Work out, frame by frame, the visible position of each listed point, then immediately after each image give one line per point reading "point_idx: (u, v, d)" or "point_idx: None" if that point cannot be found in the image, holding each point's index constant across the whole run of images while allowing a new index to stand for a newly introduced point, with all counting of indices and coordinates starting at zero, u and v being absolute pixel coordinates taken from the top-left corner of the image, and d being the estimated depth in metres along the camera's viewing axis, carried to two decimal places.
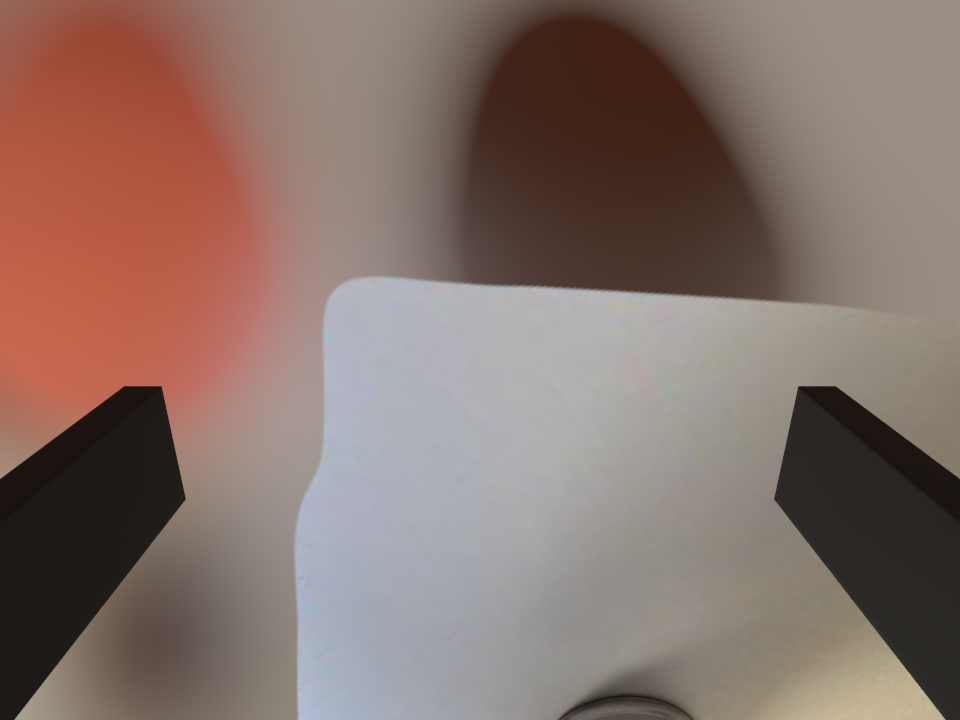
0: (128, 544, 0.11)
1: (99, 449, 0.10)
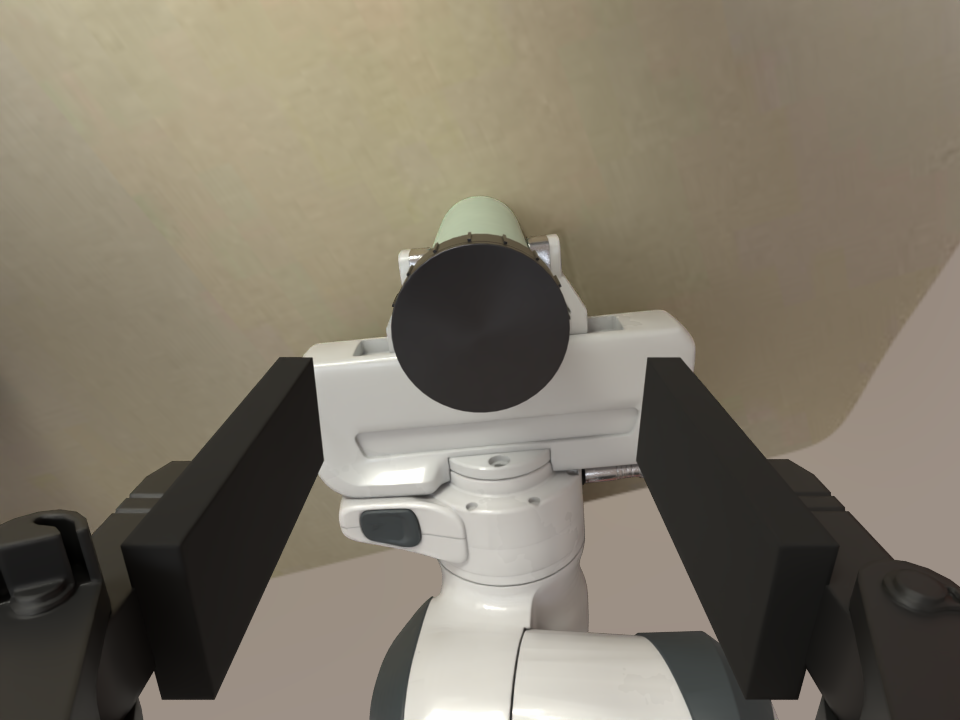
0: (297, 493, 0.12)
1: (284, 407, 0.12)
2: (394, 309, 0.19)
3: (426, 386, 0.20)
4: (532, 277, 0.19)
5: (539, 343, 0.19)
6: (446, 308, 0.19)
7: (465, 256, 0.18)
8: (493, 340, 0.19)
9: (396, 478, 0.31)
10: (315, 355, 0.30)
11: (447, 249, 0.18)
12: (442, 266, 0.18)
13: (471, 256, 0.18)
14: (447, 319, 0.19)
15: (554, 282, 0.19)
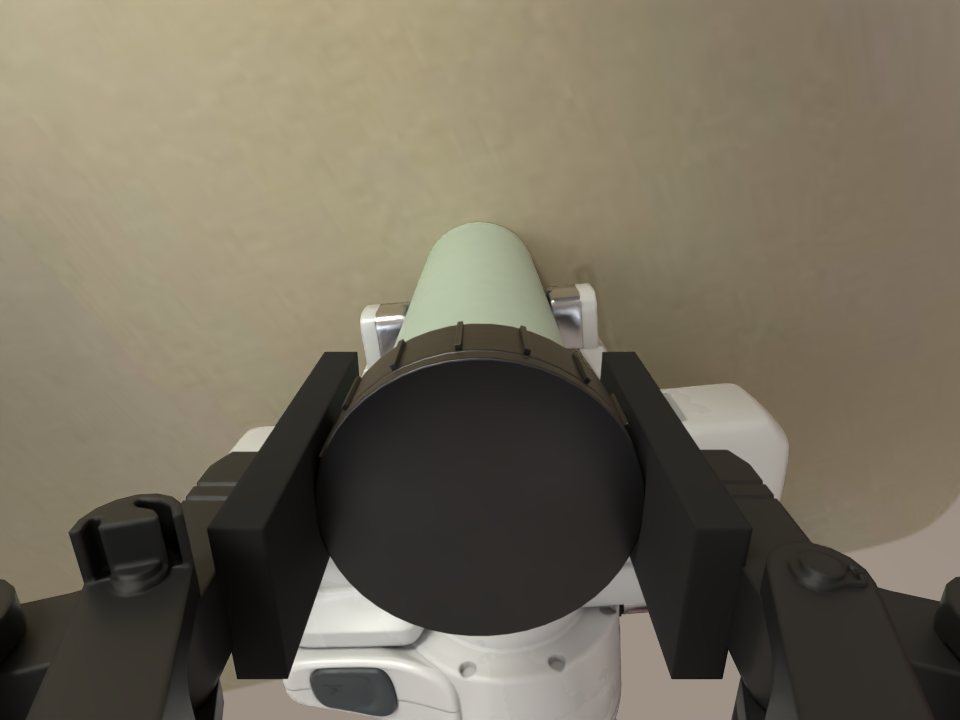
0: None
1: (336, 400, 0.12)
2: (318, 473, 0.10)
3: (382, 596, 0.11)
4: (579, 418, 0.10)
5: (588, 528, 0.11)
6: (416, 471, 0.10)
7: (451, 381, 0.10)
8: (503, 524, 0.11)
9: (361, 624, 0.22)
10: (246, 451, 0.21)
11: (416, 368, 0.10)
12: (407, 399, 0.10)
13: (462, 381, 0.10)
14: (418, 489, 0.10)
15: (620, 426, 0.10)
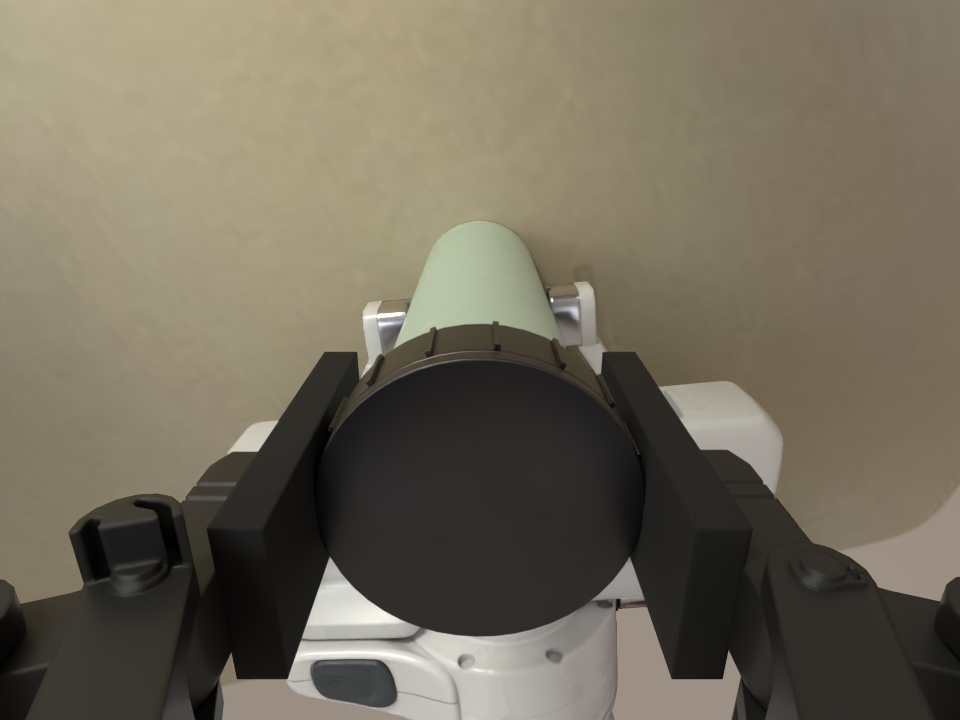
0: None
1: (336, 400, 0.12)
2: (463, 635, 0.11)
3: (598, 578, 0.11)
4: (355, 448, 0.10)
5: (481, 412, 0.10)
6: (445, 567, 0.11)
7: (348, 553, 0.11)
8: (490, 489, 0.10)
9: (362, 616, 0.22)
10: (249, 445, 0.22)
11: (345, 576, 0.11)
12: (374, 581, 0.11)
13: (345, 545, 0.11)
14: (465, 563, 0.11)
15: (354, 409, 0.10)
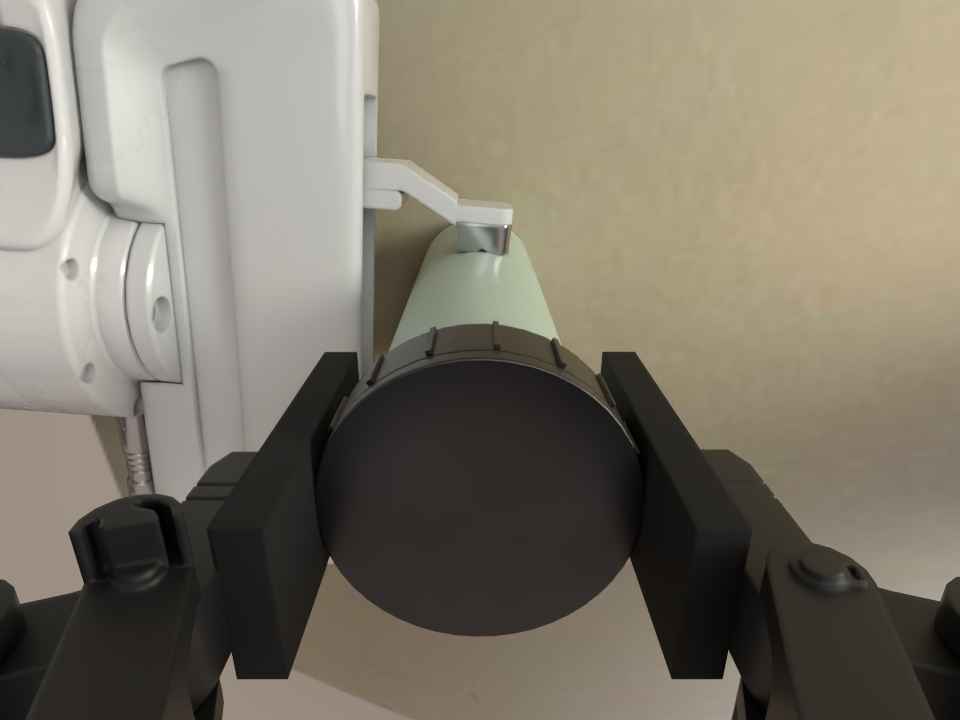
0: None
1: (336, 400, 0.12)
2: (463, 635, 0.11)
3: (598, 578, 0.11)
4: (355, 447, 0.10)
5: (481, 411, 0.10)
6: (445, 567, 0.11)
7: (348, 553, 0.11)
8: (490, 489, 0.10)
9: (120, 127, 0.16)
10: (369, 16, 0.17)
11: (345, 576, 0.11)
12: (374, 581, 0.11)
13: (345, 545, 0.11)
14: (465, 563, 0.11)
15: (354, 409, 0.10)
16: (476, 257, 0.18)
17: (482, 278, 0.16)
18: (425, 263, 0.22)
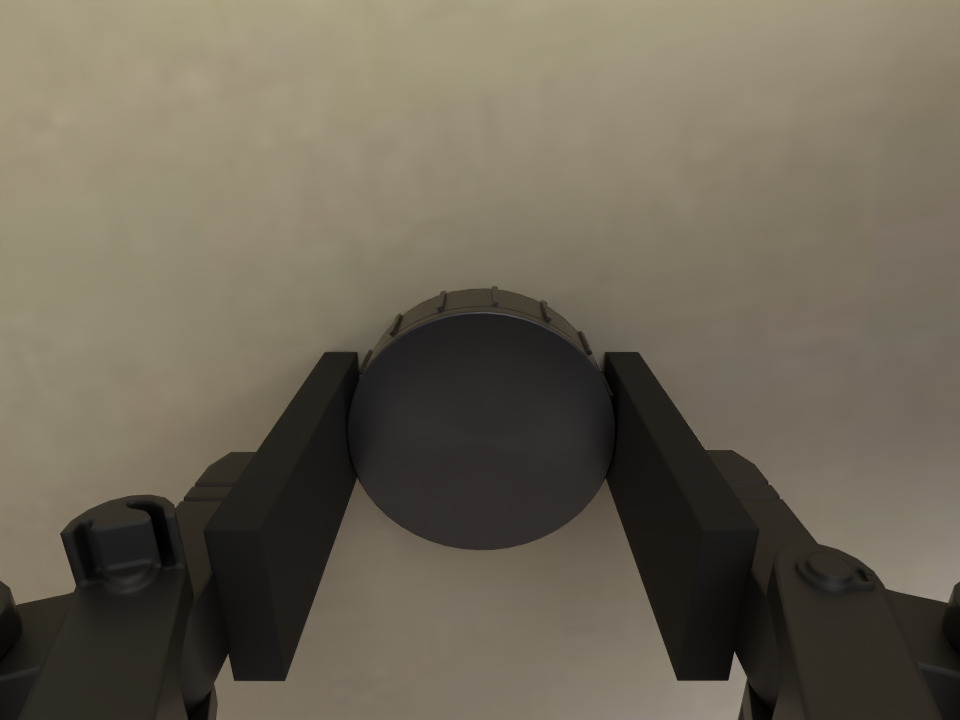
0: (346, 485, 0.13)
1: (336, 400, 0.12)
2: (467, 548, 0.14)
3: (578, 498, 0.13)
4: (380, 385, 0.12)
5: (482, 356, 0.12)
6: (452, 488, 0.13)
7: (373, 476, 0.13)
8: (489, 421, 0.13)
9: None
10: None
11: (370, 496, 0.13)
12: (394, 501, 0.13)
13: (371, 469, 0.13)
14: (469, 485, 0.13)
15: (380, 353, 0.12)
16: None
17: None
18: None
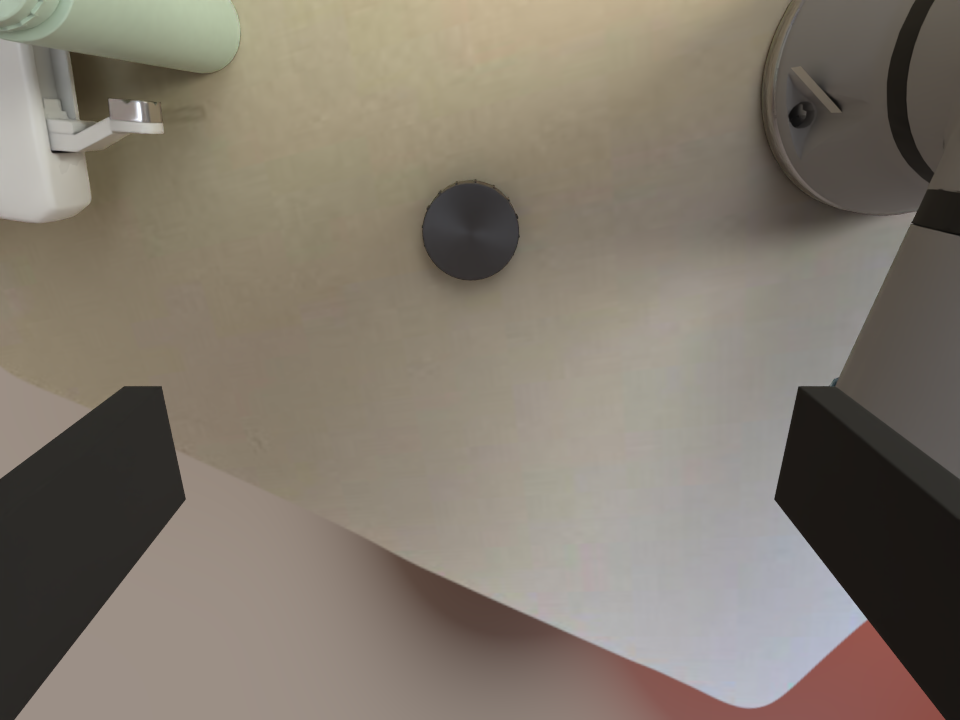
0: (128, 544, 0.11)
1: (100, 450, 0.10)
2: (465, 279, 0.37)
3: (506, 257, 0.36)
4: (435, 211, 0.35)
5: (471, 199, 0.35)
6: (460, 253, 0.36)
7: (431, 248, 0.36)
8: (473, 225, 0.36)
9: None
10: None
11: (430, 257, 0.36)
12: (439, 258, 0.36)
13: (430, 245, 0.36)
14: (466, 251, 0.36)
15: (435, 199, 0.35)
16: None
17: None
18: None
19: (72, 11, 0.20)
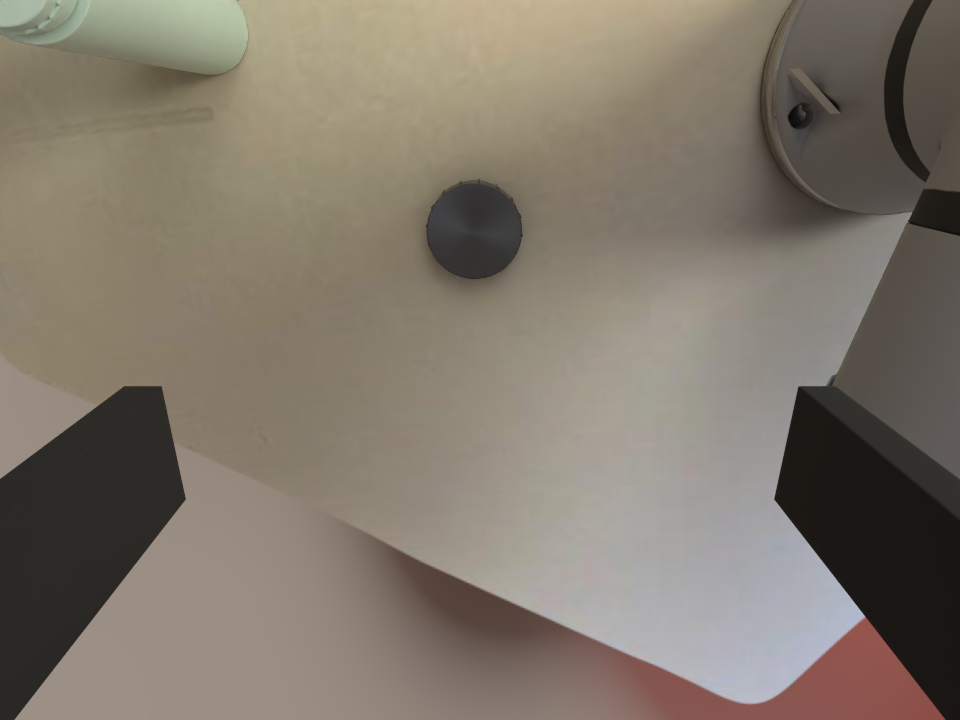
0: (128, 544, 0.11)
1: (100, 449, 0.10)
2: (469, 278, 0.37)
3: (509, 256, 0.37)
4: (439, 210, 0.36)
5: (474, 199, 0.36)
6: (464, 252, 0.37)
7: (435, 247, 0.37)
8: (477, 224, 0.36)
9: None
10: None
11: (434, 256, 0.37)
12: (443, 257, 0.37)
13: (435, 244, 0.37)
14: (470, 250, 0.37)
15: (440, 198, 0.36)
16: None
17: None
18: None
19: (88, 15, 0.21)
